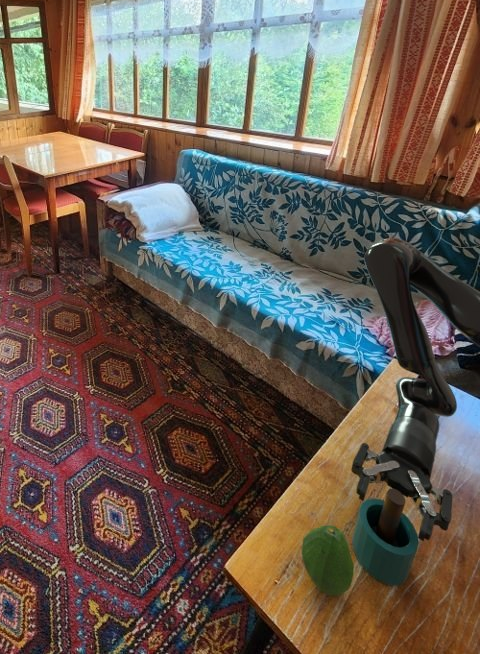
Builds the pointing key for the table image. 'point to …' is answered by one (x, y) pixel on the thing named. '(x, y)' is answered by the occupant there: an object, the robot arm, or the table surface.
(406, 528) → the jar
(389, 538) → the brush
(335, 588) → the avocado
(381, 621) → the table surface
